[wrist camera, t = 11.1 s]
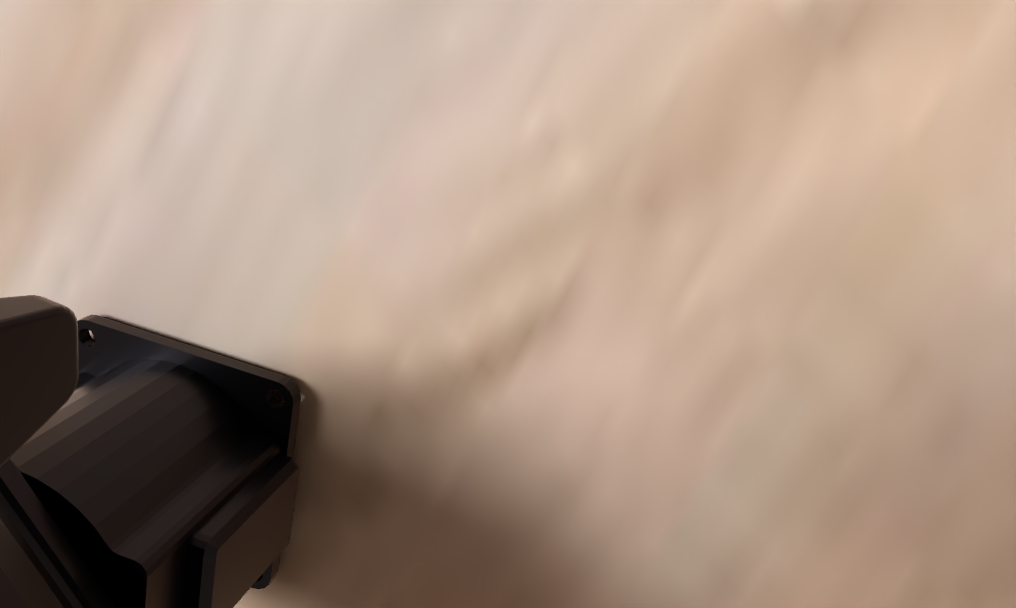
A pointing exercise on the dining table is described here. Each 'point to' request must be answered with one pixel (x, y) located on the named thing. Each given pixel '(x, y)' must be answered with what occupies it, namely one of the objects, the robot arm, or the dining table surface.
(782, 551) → the dining table surface
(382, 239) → the dining table surface
